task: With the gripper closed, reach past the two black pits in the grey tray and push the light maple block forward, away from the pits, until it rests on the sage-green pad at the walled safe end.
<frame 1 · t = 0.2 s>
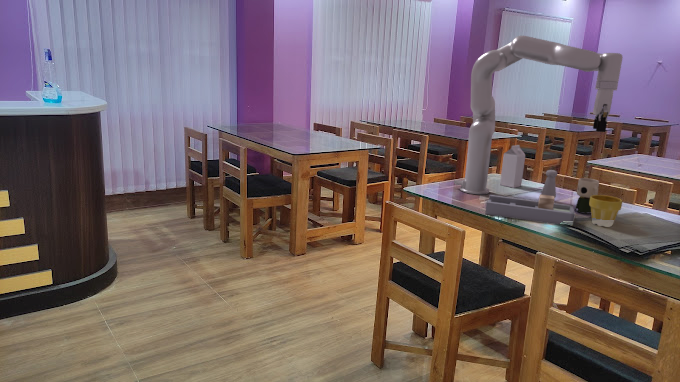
hand: (598, 130, 198), 31 cm above the table, tool pointing down, fingers open, 9 cm apart
plant pot: (601, 224, 182), on the table
salt shaker: (547, 201, 211), on the table
grey tray: (528, 215, 188), on the table
maple block: (545, 209, 186), point 3 cm above the table, touching grey tray
milk carton: (510, 186, 236), on the table
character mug: (583, 212, 196), on the table
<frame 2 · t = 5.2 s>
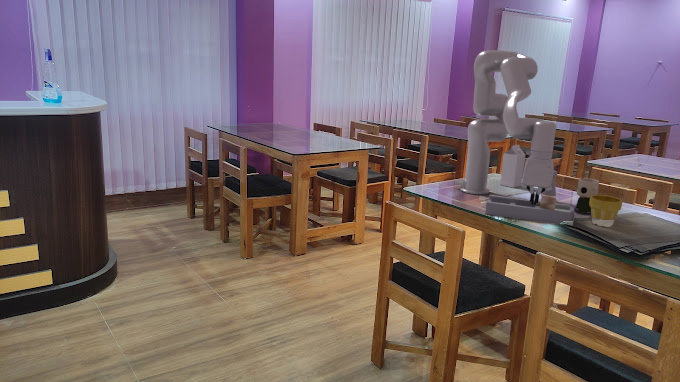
hand: (533, 204, 187), 5 cm above the table, tool pointing down, fingers closed
maple block: (546, 210, 186), point 3 cm above the table, touching gripper
everything else where it was.
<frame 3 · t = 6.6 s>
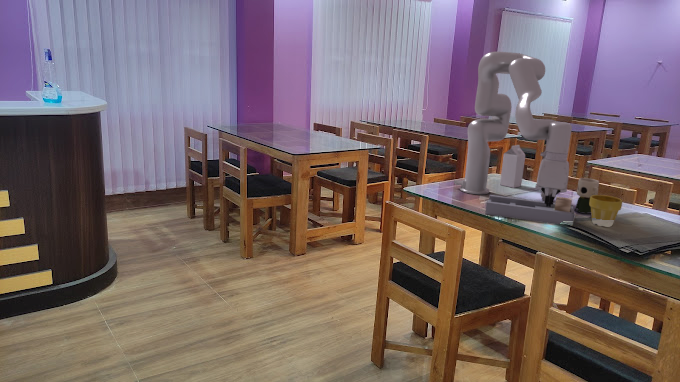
hand: (548, 205, 185), 5 cm above the table, tool pointing down, fingers closed
maple block: (561, 212, 184), point 3 cm above the table, touching gripper, grey tray
everything else where it was.
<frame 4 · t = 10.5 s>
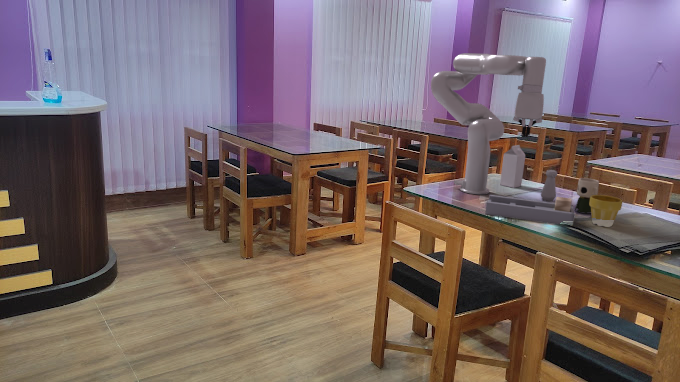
hand: (525, 136, 200), 27 cm above the table, tool pointing down, fingers closed
maple block: (561, 212, 184), point 3 cm above the table, touching grey tray
everything else where it was.
at the end: maple block 0.3 cm from the target spot on the grey tray, point 3.0 cm above the grey tray's base; maple block tilted 0° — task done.
